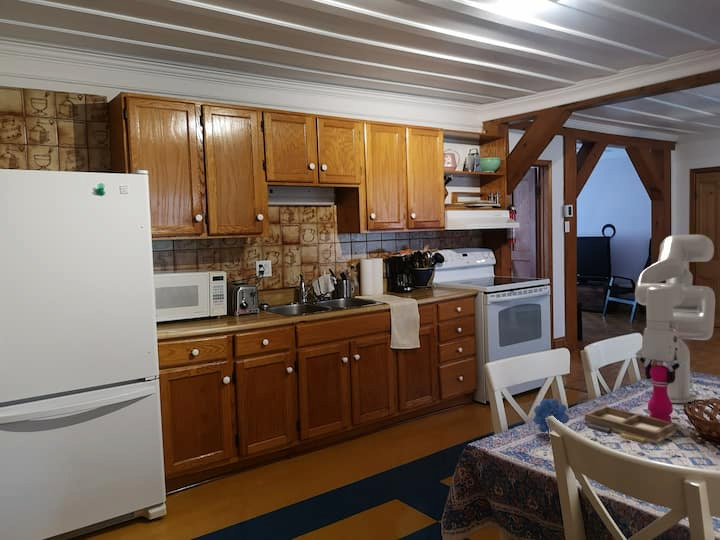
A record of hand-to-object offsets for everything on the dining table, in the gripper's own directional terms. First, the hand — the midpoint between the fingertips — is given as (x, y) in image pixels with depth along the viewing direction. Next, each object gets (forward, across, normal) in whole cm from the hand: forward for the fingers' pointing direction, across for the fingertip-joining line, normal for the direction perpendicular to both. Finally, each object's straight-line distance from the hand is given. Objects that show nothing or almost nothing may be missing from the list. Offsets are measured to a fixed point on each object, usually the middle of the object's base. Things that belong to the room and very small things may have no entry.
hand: (660, 380), depth 182 cm
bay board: (+14, +4, +14) cm, 20 cm away
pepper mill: (+14, 0, 0) cm, 14 cm away
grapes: (+14, +16, +34) cm, 40 cm away
